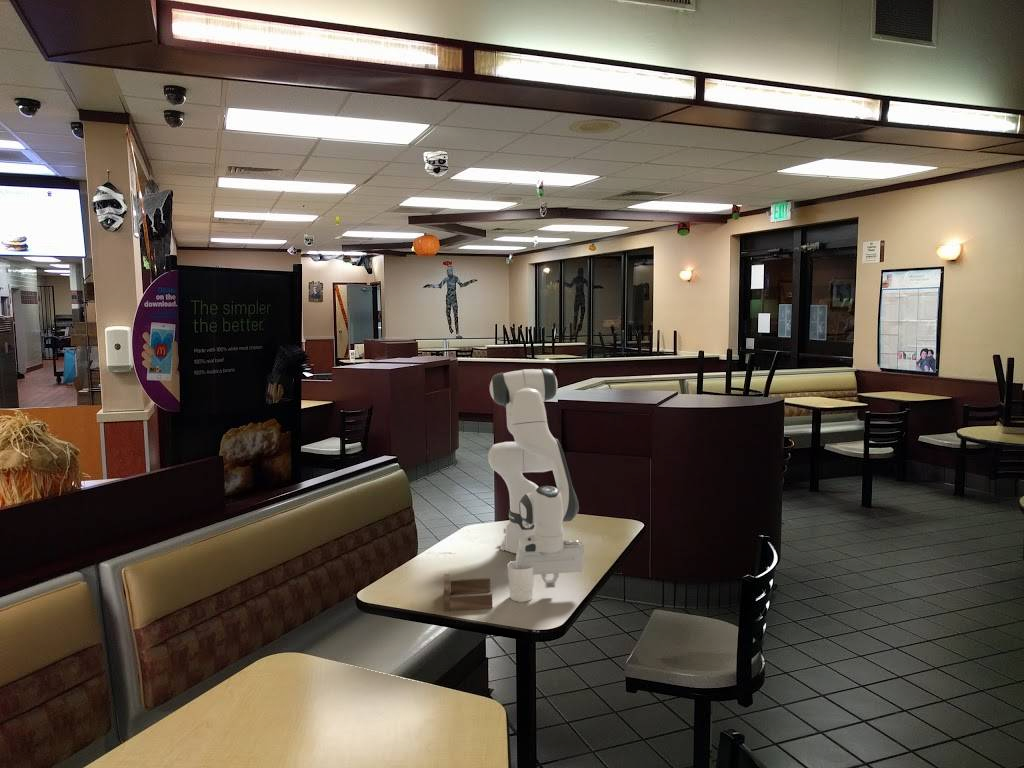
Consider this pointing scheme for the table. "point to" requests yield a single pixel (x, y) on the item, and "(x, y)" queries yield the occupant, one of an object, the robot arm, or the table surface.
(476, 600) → the open brown box
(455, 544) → the table surface
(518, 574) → the white cup
